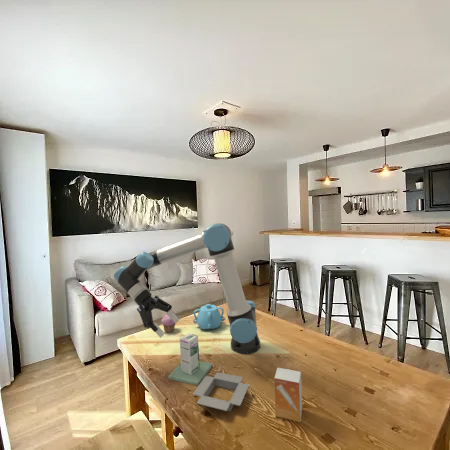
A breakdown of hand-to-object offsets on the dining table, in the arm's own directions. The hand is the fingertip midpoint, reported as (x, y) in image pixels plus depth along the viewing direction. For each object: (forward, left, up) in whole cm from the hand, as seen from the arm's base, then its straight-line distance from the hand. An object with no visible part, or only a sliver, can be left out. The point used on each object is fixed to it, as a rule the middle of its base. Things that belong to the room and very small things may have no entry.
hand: (170, 328), depth 114 cm
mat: (-8, +8, -17) cm, 20 cm away
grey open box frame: (-19, +26, -17) cm, 36 cm away
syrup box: (-8, +8, -16) cm, 20 cm away
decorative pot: (-20, -37, -17) cm, 46 cm away
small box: (-40, +38, -17) cm, 58 cm away
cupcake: (+4, -36, -17) cm, 40 cm away
